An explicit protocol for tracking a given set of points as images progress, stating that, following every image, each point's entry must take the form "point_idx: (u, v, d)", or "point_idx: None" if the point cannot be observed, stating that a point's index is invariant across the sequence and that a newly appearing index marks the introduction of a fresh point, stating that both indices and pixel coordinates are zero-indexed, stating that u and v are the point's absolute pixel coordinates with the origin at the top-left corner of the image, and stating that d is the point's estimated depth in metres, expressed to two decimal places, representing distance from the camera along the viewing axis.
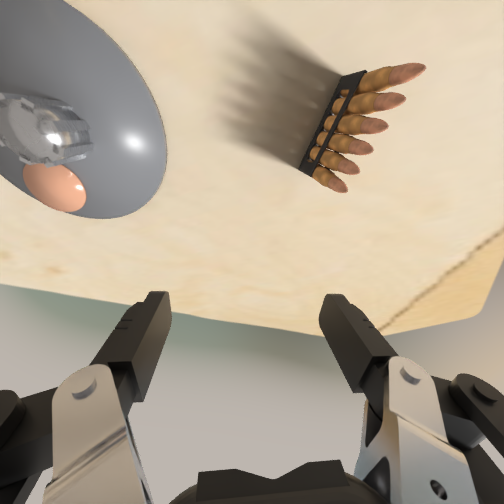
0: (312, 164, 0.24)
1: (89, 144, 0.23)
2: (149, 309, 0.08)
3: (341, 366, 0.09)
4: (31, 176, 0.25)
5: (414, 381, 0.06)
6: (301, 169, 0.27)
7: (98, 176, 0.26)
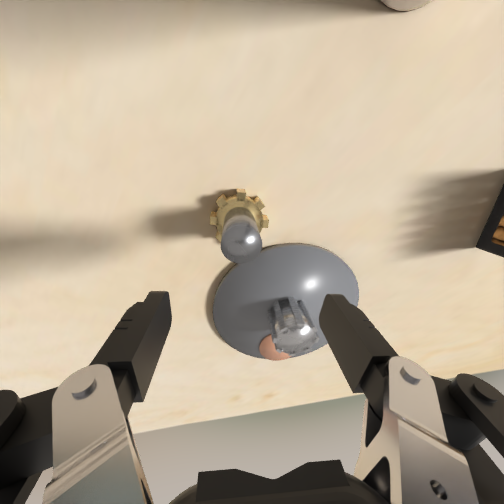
0: None
1: None
2: (149, 309, 0.08)
3: (341, 366, 0.09)
4: (264, 347, 0.32)
5: (414, 381, 0.06)
6: (486, 249, 0.27)
7: None
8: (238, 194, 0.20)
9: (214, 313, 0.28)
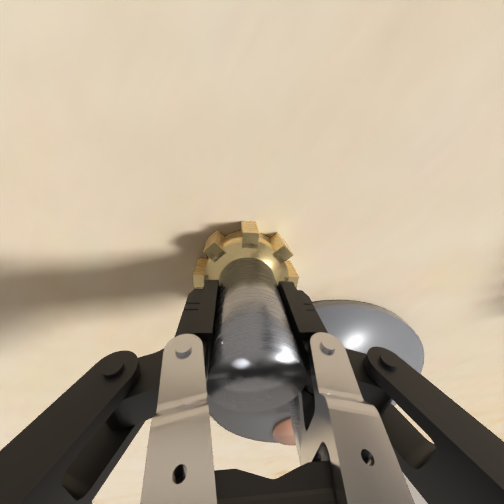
0: None
1: None
2: (210, 293, 0.09)
3: None
4: (280, 433, 0.23)
5: (328, 352, 0.07)
6: None
7: None
8: (245, 236, 0.11)
9: (207, 398, 0.19)
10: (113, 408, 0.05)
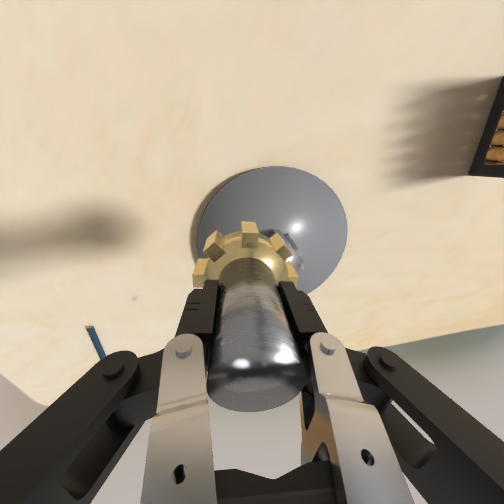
0: None
1: None
2: (210, 293, 0.09)
3: None
4: None
5: (327, 352, 0.07)
6: (479, 174, 0.26)
7: None
8: (245, 236, 0.11)
9: (198, 248, 0.28)
10: (113, 408, 0.05)
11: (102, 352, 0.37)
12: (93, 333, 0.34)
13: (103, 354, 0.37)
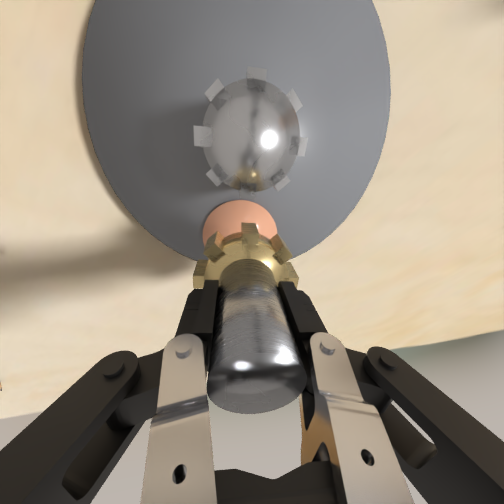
0: None
1: None
2: (210, 293, 0.09)
3: None
4: None
5: (327, 352, 0.07)
6: None
7: (292, 193, 0.17)
8: (245, 238, 0.11)
9: (93, 134, 0.14)
10: (113, 408, 0.05)
11: None
12: None
13: None
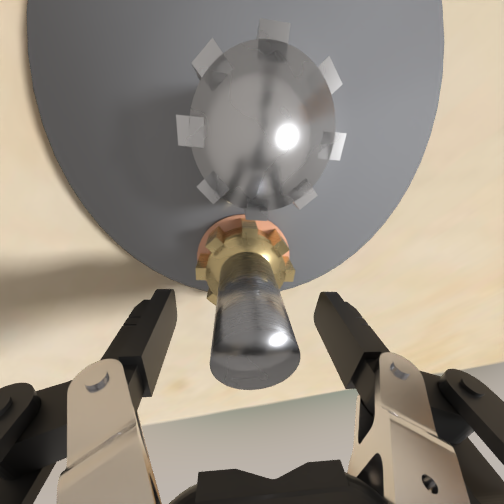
0: None
1: None
2: (156, 306, 0.08)
3: (334, 363, 0.09)
4: None
5: (403, 376, 0.06)
6: None
7: (309, 205, 0.13)
8: (244, 232, 0.11)
9: (50, 132, 0.10)
10: (5, 450, 0.04)
11: None
12: None
13: None
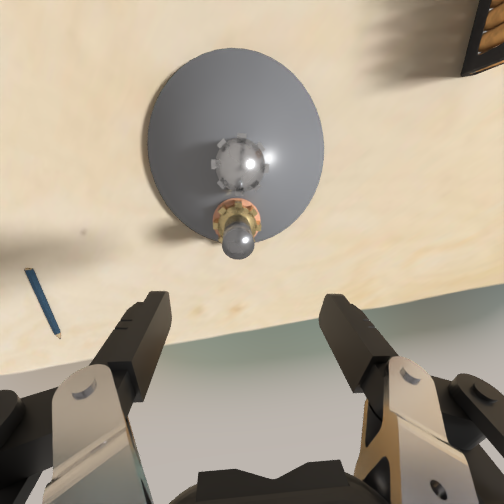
0: None
1: None
2: (149, 309, 0.08)
3: (341, 366, 0.09)
4: None
5: (414, 381, 0.06)
6: (472, 70, 0.22)
7: (268, 193, 0.27)
8: (236, 204, 0.25)
9: (150, 160, 0.24)
10: None
11: (46, 304, 0.32)
12: (33, 277, 0.30)
13: (47, 307, 0.33)
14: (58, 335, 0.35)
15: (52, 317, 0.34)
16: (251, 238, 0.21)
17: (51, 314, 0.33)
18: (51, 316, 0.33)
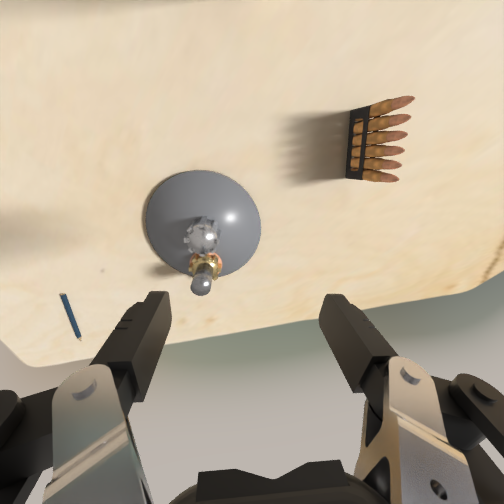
0: (357, 171, 0.33)
1: (220, 231, 0.38)
2: (149, 309, 0.08)
3: (341, 366, 0.09)
4: None
5: (414, 381, 0.06)
6: (349, 177, 0.36)
7: (226, 247, 0.40)
8: (203, 257, 0.38)
9: (147, 229, 0.37)
10: None
11: (72, 317, 0.46)
12: (65, 299, 0.43)
13: (73, 319, 0.46)
14: (79, 338, 0.49)
15: (76, 326, 0.47)
16: (208, 284, 0.34)
17: (75, 324, 0.47)
18: (75, 325, 0.47)
